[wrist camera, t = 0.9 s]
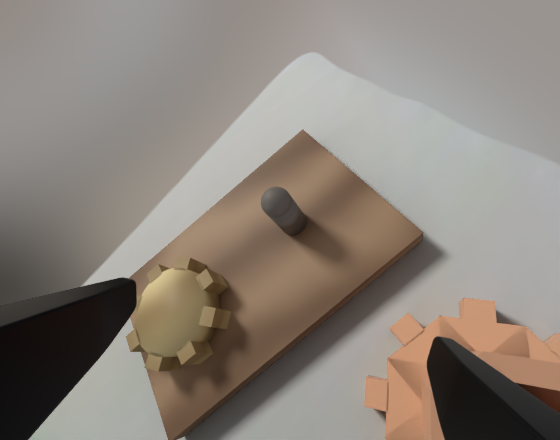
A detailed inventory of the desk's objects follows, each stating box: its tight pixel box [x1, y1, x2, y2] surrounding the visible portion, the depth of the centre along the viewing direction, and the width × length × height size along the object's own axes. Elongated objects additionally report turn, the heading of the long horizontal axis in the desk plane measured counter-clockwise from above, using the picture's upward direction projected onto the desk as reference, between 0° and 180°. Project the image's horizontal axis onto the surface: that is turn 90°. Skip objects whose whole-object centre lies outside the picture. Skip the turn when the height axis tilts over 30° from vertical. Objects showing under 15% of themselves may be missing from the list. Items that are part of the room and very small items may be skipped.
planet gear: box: [364, 298, 560, 440], centre depth 12 cm, size 11×11×8 cm
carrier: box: [126, 130, 423, 440], centre depth 21 cm, size 13×21×6 cm, turn 124°
